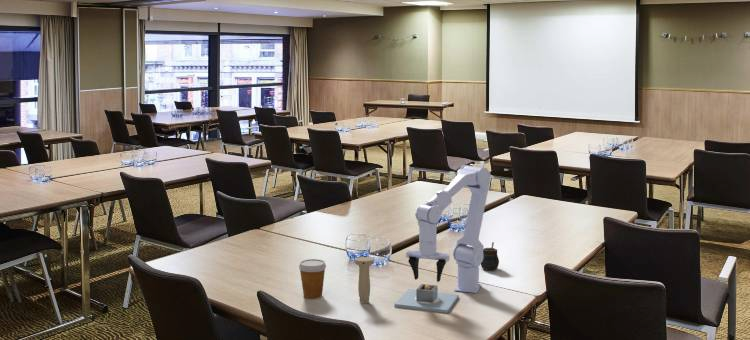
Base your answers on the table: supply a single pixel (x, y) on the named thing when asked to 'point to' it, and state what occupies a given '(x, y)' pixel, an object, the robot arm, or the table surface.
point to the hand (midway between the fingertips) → (427, 279)
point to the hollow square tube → (426, 293)
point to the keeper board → (439, 305)
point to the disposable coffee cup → (312, 277)
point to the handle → (364, 277)
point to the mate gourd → (490, 258)
